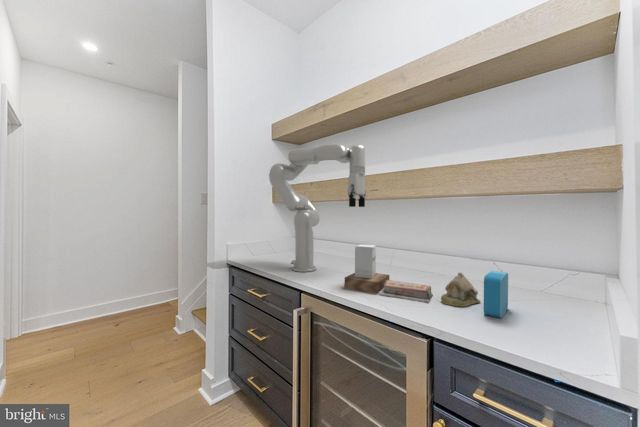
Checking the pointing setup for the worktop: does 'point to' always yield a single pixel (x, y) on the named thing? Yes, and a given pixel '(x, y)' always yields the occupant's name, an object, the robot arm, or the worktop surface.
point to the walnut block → (366, 283)
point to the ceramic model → (460, 292)
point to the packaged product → (407, 291)
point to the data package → (495, 293)
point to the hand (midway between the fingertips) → (357, 206)
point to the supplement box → (365, 261)
